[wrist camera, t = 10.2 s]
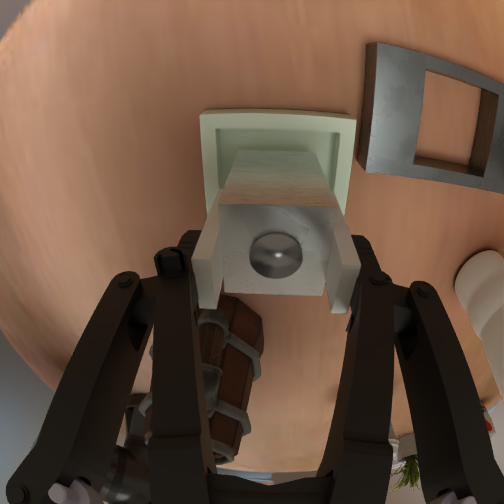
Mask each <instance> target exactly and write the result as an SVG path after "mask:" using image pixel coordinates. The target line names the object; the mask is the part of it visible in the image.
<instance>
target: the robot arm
mask: <svg viewBox="0 0 504 504" xmlns="http://www.w3.org/2000/svg"><path fill="white" fill-rule="evenodd" d="M222 191H223V189H219V190H218V192H217V195H216V197H215V199H214V202H213V204H212V207H211V209H210V212H209V214H208V217H207V219H206V222H205V224H204V227H203V229H202V230H188V231H187V232H186V233H185V234H184V235H182V237H181V239H180V241H179V244H178V246H177V247H168V248H164V249H162V250H160V251H159V252H157V253H156V254H155V257H154V261H155V265H156V269H157V273H158V275H157V276H154V277H150V278H144V279H140V277H139V275H138V274H137V273H136V272H132V271H126V272H122V273H119V274H118V275H116V276H115V277H114V278H113V279H112V280H111V282H110V284H109V286H108V287H107V289H106V291H105V293H104V294H103V296H102V298H101V300H100V302H99V303H98V305H97V307H96V309H95V311H94V313H93V315H92V317H91V318H90V320H89V322H88V324H87V326H86V328H85V330H84V332H83V334H82V336H81V338H80V340H79V342H78V344H77V346H76V348H75V350H74V352H73V355H72V357H71V359H70V361H69V363H68V365H67V367H66V370H65V372H64V374H63V376H62V379H61V381H60V383H59V386H58V388H57V390H56V393H55V395H54V397H53V400H52V402H51V405H50V407H49V410H48V412H47V415H46V418H45V420H44V423H43V426H42V428H41V431H40V433H39V435H38V436H37V438H36V440H35V442H34V444H33V446H32V448H31V451H30V452H29V454H28V455H27V456H26V458H25V459H24V460H23V462H22V463H21V464H20V466H19V467H18V468H17V470H16V471H15V473H14V474H13V475H12V477H11V478H10V480H9V481H8V483H7V485H6V496H7V500H8V502H9V504H104V503H103V501H105V502H108V504H385V501H386V496H387V491H388V485H389V480H390V474H391V468H392V461H393V446H392V445H391V444H390V443H389V429H390V420H391V409H392V396H393V378H394V344H395V348H396V352H397V356H398V359H399V363H400V368H401V372H402V376H403V380H404V385H405V389H406V394H407V399H408V403H409V408H410V414H411V419H412V425H413V430H414V436H415V443H416V449H417V456H418V464H419V472H420V480H421V486H422V491H423V494H424V498H425V502H426V504H504V476H503V474H502V472H501V470H500V469H499V467H498V465H497V463H496V461H495V459H494V455H493V450H492V445H491V441H490V436H489V432H488V428H487V424H486V420H485V417H484V413H483V409H482V406H481V403H480V399H479V396H478V393H477V390H476V387H475V384H474V381H473V378H472V375H471V372H470V369H469V366H468V364H467V361H466V358H465V356H464V353H463V350H462V348H461V345H460V343H459V340H458V338H457V336H456V333H455V331H454V328H453V326H452V324H451V321H450V319H449V317H448V315H447V313H446V310H445V308H444V306H443V304H442V302H441V300H440V298H439V295H438V293H437V291H436V290H435V288H434V287H433V286H431V285H430V284H429V283H426V282H424V281H414V282H413V283H411V285H410V288H407V287H403V286H399V285H396V284H393V282H392V279H391V278H390V276H389V275H388V274H386V273H384V272H383V271H381V269H380V266H379V264H378V261H377V259H376V256H375V255H374V251H373V249H372V247H371V244H370V242H369V241H368V240H367V239H366V238H365V237H364V236H361V235H350V232H349V229H348V226H347V224H346V221H345V219H344V216H343V213H342V211H341V208H340V206H339V203H338V201H337V198H336V196H335V193H332V194H333V197H334V199H335V202H336V204H337V207H338V211H337V217H336V224H335V230H334V234H333V240H332V246H331V252H330V257H329V263H328V268H327V274H326V279H325V280H326V286H327V292H328V298H329V304H330V310H331V313H348V310H349V307H350V306H351V311H352V313H351V317H350V320H349V323H348V326H347V329H346V331H347V332H348V334H347V341H346V348H345V355H344V361H343V367H342V373H341V378H340V384H339V389H338V395H337V400H336V405H335V409H334V414H333V419H332V423H331V428H330V432H329V436H328V440H327V444H326V448H325V452H324V456H323V459H322V462H321V464H320V466H319V469H318V472H317V475H316V477H311V478H302V479H298V480H294V481H290V482H286V483H281V484H277V485H264V484H261V483H257V482H254V481H250V480H247V479H243V478H240V477H237V476H231V475H221V474H218V473H217V468H216V464H215V460H214V456H213V450H212V443H211V436H210V429H209V422H208V414H207V406H206V398H205V390H204V381H203V372H202V362H201V352H200V341H199V329H198V317H197V310H196V306H197V302H199V308H204V309H217V304H218V299H219V295H220V290H221V285H222V281H223V276H224V275H223V263H222V251H221V238H220V227H219V213H218V202H219V199H220V197H221V194H222ZM153 324H154V336H153V364H152V420H153V433H152V436H151V437H150V438H149V440H148V446H147V445H146V444H145V439H146V438H145V437H144V436H143V433H144V423H145V416H144V415H143V414H142V413H141V412H140V411H139V405H140V403H141V402H142V401H143V399H144V398H145V397H146V394H136V395H132V396H130V393H131V390H132V387H133V384H134V381H135V378H136V374H137V371H138V368H139V365H140V362H141V359H142V356H143V353H144V350H145V347H146V345H147V342H148V339H149V336H150V333H151V330H152V327H153ZM124 413H125V421H126V439H125V443H124V446H123V447H121V446H119V445H116V441H117V437H118V434H119V431H120V427H121V424H122V420H123V417H124Z"/></svg>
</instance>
